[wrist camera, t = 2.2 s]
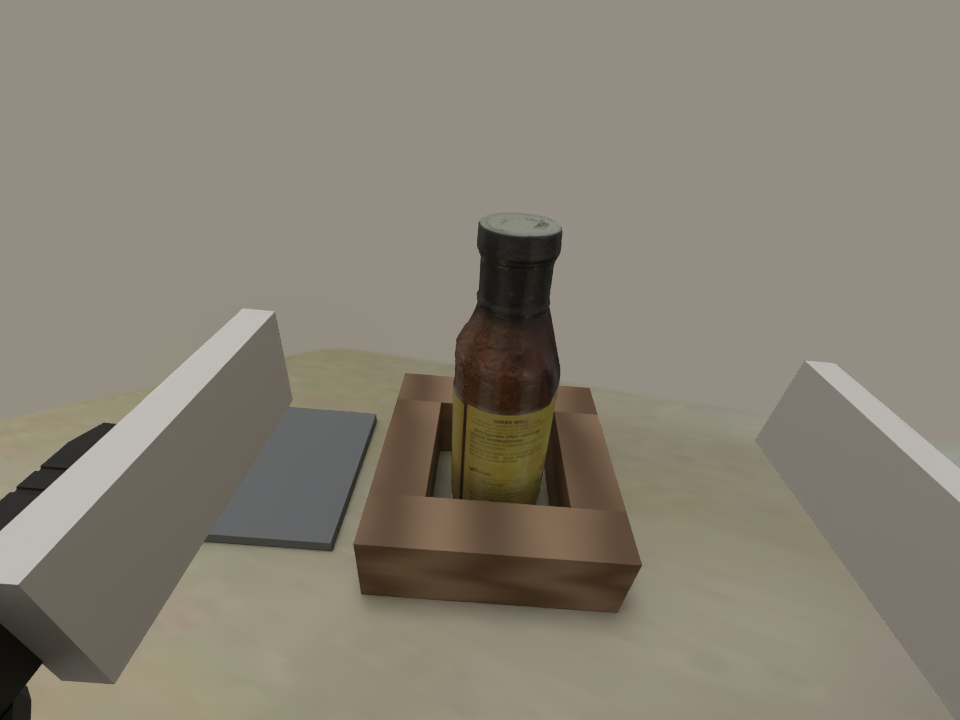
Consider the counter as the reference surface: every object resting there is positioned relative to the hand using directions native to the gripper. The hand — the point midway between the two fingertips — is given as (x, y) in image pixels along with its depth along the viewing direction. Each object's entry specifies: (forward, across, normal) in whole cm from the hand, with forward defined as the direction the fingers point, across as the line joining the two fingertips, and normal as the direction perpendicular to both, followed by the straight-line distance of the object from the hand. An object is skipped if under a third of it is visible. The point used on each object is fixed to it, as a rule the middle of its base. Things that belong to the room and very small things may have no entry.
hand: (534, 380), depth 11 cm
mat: (+12, -15, -19) cm, 27 cm away
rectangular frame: (+11, +1, -19) cm, 22 cm away
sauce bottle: (+11, +1, -19) cm, 22 cm away
